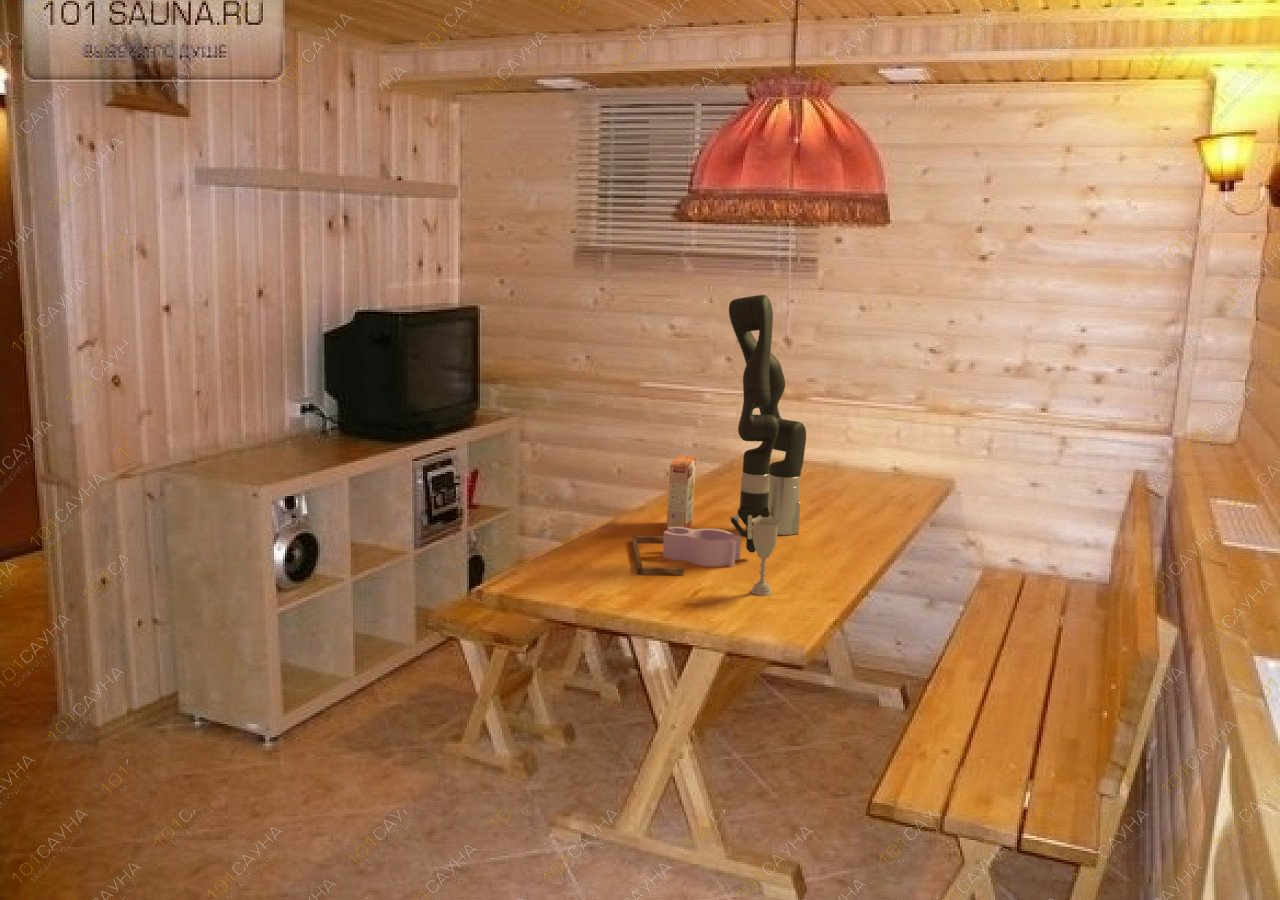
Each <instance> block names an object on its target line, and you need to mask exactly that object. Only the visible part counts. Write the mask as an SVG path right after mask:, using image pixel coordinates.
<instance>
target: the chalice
mask: <svg viewBox="0 0 1280 900" xmlns="http://www.w3.org/2000/svg"><path fill="white" fill-rule="evenodd" d="M752 522H753V526H752V534H753V535H752V537H753V543H754V547H755V553H756V554H757V557H758V558H760V559H761V562H760V565H759V567H760V571H759V572H758V573H759V575H760V578H759V580H758V581H757V582H755V583H754V585H753V587H752V589H751V591H750V592H751V594H753V595H756V596H762V597H764V596H765V597H766V596H771V595H772V590H771V587H770V584H769V582H766V580H765V576H766V575H767V572H766V571H765V570H766V567H767V565H766V561H767V559H769V558H770V556H771V554H772V553H773V552H774V549H775V547H776V544H777V542H778V534H777V530H778V525H779V524H780V521H779V520H777V519H773V518H768V517H758V518H753V519H752Z"/></svg>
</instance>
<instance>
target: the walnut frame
mask: <svg viewBox="0 0 1280 900" xmlns="http://www.w3.org/2000/svg"><path fill="white" fill-rule="evenodd" d="M631 537H632V538H631V541H632V542H631V544H632V547H633V548H632V549H633V553H634V559H635V561H634V562H635V565H636V572H637V575H644V576H645V575H649V576H650V575H656V576H660V575H661V576H684V572H685V569H684V567H648V566H647V567H643V563H642V558H641V553H640V547H639V543H640V544H641V543H643V544H646V543H647V544H649V543H650V544H663V541H664V536H651V535H650V536H647V535H646V536H645V535H641V536H640V535H637V536H636V535H633V536H631Z"/></svg>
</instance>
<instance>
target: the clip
mask: <svg viewBox="0 0 1280 900" xmlns="http://www.w3.org/2000/svg"><path fill="white" fill-rule="evenodd" d="M663 537H664V541H663V543H662V545H663V547H662V556H663V558H664V559H665V558H666V559H668V560H674V561H684V562H685V561H686V562H689V563H691V564H694V565H696V566H701V567H711V568H713V567H715V568H716V567H725V566H728V567H729V568H730V567H731V568H733V567H735V564H736V563H735V562H736V561H740V559H741V558H740V557H741V545H742V544H741V543H742V536H741V534H740V533H736V534H735V533H733V532H731V531H728V530H725V529H720V528H691V527H690V528H685V527H669V528H668V531H667V530H664V531H663Z"/></svg>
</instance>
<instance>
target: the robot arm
mask: <svg viewBox="0 0 1280 900" xmlns="http://www.w3.org/2000/svg"><path fill="white" fill-rule="evenodd" d="M728 314H729V315H728V316H729V320H730V324H731V326H732V329H733V332H734V335H735V336H736V339H737V342H738V345H739V347H740V349H741V351H742V355H743V357H744V362H745V368H744V371H743V375H742V390H743V393H742V394H743V403H742V410H741V415H740V418H739V422H738V427H737V430H738V435H739V437H740V439H741V440H743V442H761V444H760V445H759V446H758V447H756V448H755V447H754V448H751V449H748V450H746V451H745V452H744V453H743V457H742V458H743V459H742V460H743V461H742V475H741V478H740V479H741V481H740V496H739V497H740V499H739V508H738V509H737V513H736V514H735V515H734V516H730V517H729V520H730V522H731V524H732V525H733V526H734V528H735V529H736V531H737V532H738V534H741V538H742V537H743V538H746V539H745V540H746V542H745V543H746V544H745V549H746V550H747V551H748V553H756V550H755V547H754V543H753V522H752V519H753V518H758V517H768V518H773V519H777V520H779V521H780V524H779V525H778V530H777V536H778V535H779V536H790V535H798V534H799V532H800V518H801V517H800V514H801V501H800V488H801V487H800V486H801V474H802V469H803V466H804V459H805V450H806V442H807V429H806V426H805V424H804V423H803V422H800V421H796V420H791V419H790V420H789V419H784V418H782V417H781V416H780V412H779V408H778V407H779V406H778V405H779V402H780V401H781V398H782V396H783V395H784V391H785V388H786V378H785V376H784V372H783V369H782V368H783V367H782V365H781V362H780V361H779V359H778V358H777V357H776V356H775V355H774V354H772V341H773V340H772V338H773V327H774V325H773V321H774V320H773V319H774V314H773V306H772V302H771V299H770V298H769V297H768V295H766V294H760V295H759V294H758V295H751V296H750V295H749V296H746V297H745V296H744V297H739V298H734V299H732V300H731V301H730V302H729V306H728ZM754 331H755V332H756V331H759V332H758V339H756V337H754V335H753V332H754ZM757 408H758V409H759V414H753V411H754V410H755V409H757ZM773 450H774V451H780V452H785V455H784V459H783V460H779V461H774V462H772V463H771V457H772V452H773ZM740 519H741V521H742V523H743V524H744V525H745V530H744V529H743V528H742V526H741V525H740V524H739V523H740Z"/></svg>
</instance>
